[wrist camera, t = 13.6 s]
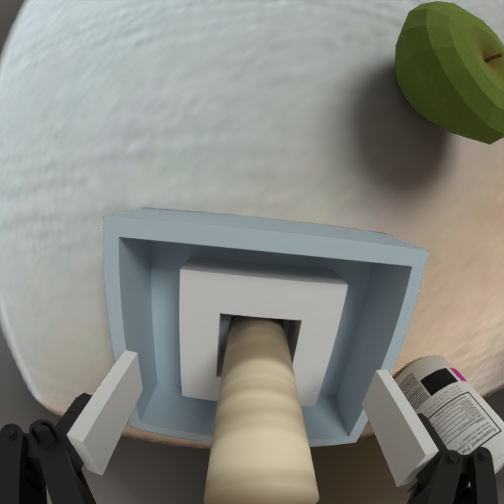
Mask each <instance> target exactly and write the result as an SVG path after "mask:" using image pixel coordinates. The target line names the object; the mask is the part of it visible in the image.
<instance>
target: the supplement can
mask: <svg viewBox="0 0 504 504" xmlns="http://www.w3.org/2000/svg"><path fill="white" fill-rule="evenodd" d="M394 380H395V382H396V383H397V385H398V386H399V388H400V389H401V391H402V392H403V394H404V396H405V397H406V399H407V400H408V402H409V403H410V405H411V406H412V408H413V410H414V411H415V413H416V414H418V413H422V414H423V415H424V416H426V417H427V418H428V419H429V421H430V422H431V424H432V426H433V427H434V428H435V431H436V432H437V433H438V435H439V436H440V438H441V439H442V441H443V443H444V444H445V446H446V447H447V449H448V450H455V451H457V452H458V453H460V454H461V455H466V454H472V453H473V452H474V450H475V449H476V448H478V447H485V448H487V449H489V451H490V452H491V454H492V459H493V465H494V472H495V473H497V472H498V471H499V470H500V469H501V468H502V467H503V466H504V422H503V421H502V420H501V419H500V418H499V416H498V415H497V414H496V413H495V412H494V411H493V409H492V408H491V407H490V406H489V405H488V404H487V403H486V401H485V400H484V399H483V398H482V397H481V396H480V395H479V394H478V393H477V391H476V390H475V389H474V388H473V387H472V386H471V385H470V384H469V383H468V382H467V381H466V380H465V379H464V377H463V376H462V375H461V374H460V373H459V372H458V371H457V370H456V369H455V368H454V367H453V366H452V365H451V364H450V363H449V362H448V361H447V360H446V359H445V358H444V357H442V356H438V355H433V356H428V357H425V358H421V359H419V360H417V361H415V362H413V363H411V364H410V365H409V366H407V367H406V368H405V369H404V370H402V371H401V373H400V374H399V375H398V376H397V377H396V378H395V379H394ZM469 487H470V483H469Z"/></svg>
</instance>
